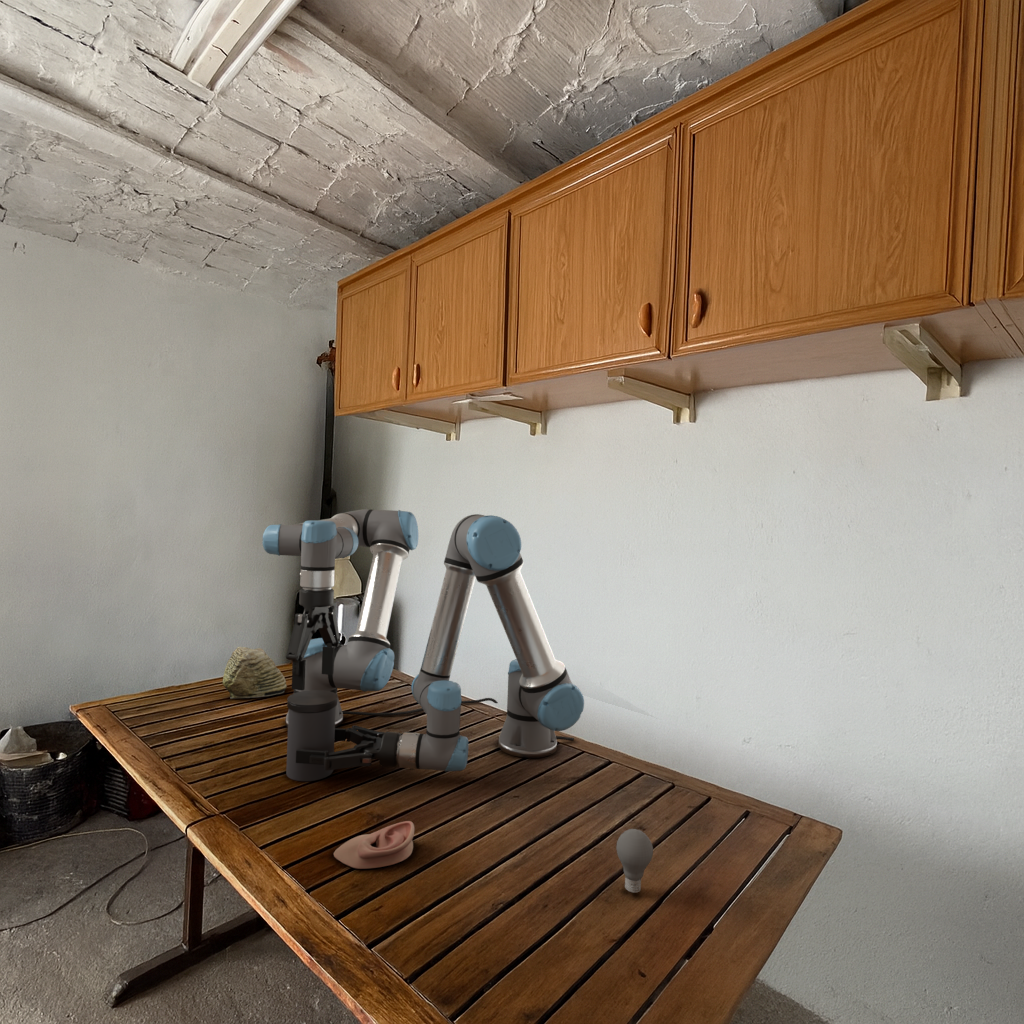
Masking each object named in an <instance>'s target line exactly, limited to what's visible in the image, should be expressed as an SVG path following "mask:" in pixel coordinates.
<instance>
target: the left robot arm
mask: <svg viewBox="0 0 1024 1024" xmlns="http://www.w3.org/2000/svg"><path fill="white" fill-rule="evenodd" d="M418 544H419V526H418V521H417V518H416V516H415V514H414V513H413V512H411V511H408V510H407V511H406V510H400V509H398V510H392V509H391V510H390V509H371V508H363V509H356V510H351V511H345V512H340V513H337V514H334V515H333V516H332V517H331V518H324V519H318V520H316V519H315V520H313V519H311V520H305V521H304V522H299V523H294V524H282V523H279V524H269V525H268V526H266V528H265V529H264V531H263V534H262V547H263V550H264V552H265V553H267V554H269V555H275V556H279V557H280V556H289V557H290V556H291V557H292V556H293V557H300V573H299V577H300V578H299V579H300V581H299V586H300V587H301V589H300V590H299V598H298V599H299V600H298V604H299V605H300V606H301V607H303V613H295V615H294V624H293V628H292V631H291V636H290V640H289V643H288V647H287V651H286V655H285V658H286V660H288V661H291V662H292V665H291V666H292V667H291V690H293V694H294V693H297V692H301V691H308V690H325V691H330V692H334V693H336V694H337V696H338V697H339V695H338V689H342V690H343V689H345V690H351V691H353V690H354V691H355V690H356V691H362V692H379V691H381V690H383V689H384V688H385V686H386V685H387V684H388V683H389V681H390V678H391V677H392V673H393V671H394V666H395V652H394V650H393V649H391V643H390V641H389V639H387V636H388V631H389V626H390V621H391V616H392V611H393V606H394V602H395V598H396V597H395V596H396V593H397V586H398V583H399V578H400V572H401V568H402V563H403V561H404V560H406V559H408V557H409V554H410V551H414V550H416V549H417V547H418ZM358 547H363V548H369V551H370V553H371V554H372V560H371V563H370V569H369V573H368V578H367V582H366V586H365V591H364V593H363V599H362V603H361V608H360V613H359V615H358V620H357V625H356V629H355V632H354V633H353V634H351V635H350V636H348V640H347V643H346V644H341V636H340V631H339V625H338V621H337V616H336V605H334V603H335V602H334V600H335V599H334V597H335V590H334V589H333V587H335V576H336V575H335V573H336V571H335V569H336V560H339V559H346V558H348V557H350V556H352V555H353V554H354V553H355V552H356V551H357V549H358ZM317 630H318V632H319V634H320V636H321V637H318V638H313V635H314V634H316V632H317ZM312 638H313V639H312ZM488 701H490V702H493V703H494V704H499V703H498V701H497V700H496V699H494V698H492V697H484V698H480V699H473V700H472V699H471V701H470V700H462V701H461V705H463V704H477V703H483V702H488ZM420 712H425V711H424V710H423V709H422V707H420V708H415V709H410V710H404V711H397V712H396V711H395V712H366V711H365V712H364V711H352V710H351V711H349V710H343V709H342V706H341V702H340V699H339V698H338V701H337V705H336V712H335V728H337V727H339V726H340V725H342V723H343V722H344V715H354V716H367V717H368V716H369V717H370V716H371V717H390V716H393V717H394V716H402V715H403V716H404V715H410V714H415V713H420ZM288 713H289V709H288V711H287V713H286V715H285V726H286V728H288Z"/></svg>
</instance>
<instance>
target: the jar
mask: <svg viewBox="0 0 1024 1024" xmlns="http://www.w3.org/2000/svg"><path fill="white" fill-rule="evenodd" d="M288 710H289V713H288V712H287V713H288V727H287V740H286V741H287V743H286V768H285V770H286V771H285V773H286V774H285V775H286V777H288V778H289V779H290V780H292V781H295V782H296V781H297V782H314V781H318V780H322V779H325V778H327V777H329V776H331V774H332V773H333V772H334V770H325V766H324V765H319V764H303V763H296V750H297V749H300V750H315V751H326V750H327V751H328V752H329V753H332V752H335V741H334V738H335V728H336V727H335V712H336V706H335V707H334V708H332V709H329V710H326V711H321V712H312V713H304V712H296V711H292V710H290V709H289V708H288Z"/></svg>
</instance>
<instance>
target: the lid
mask: <svg viewBox="0 0 1024 1024" xmlns="http://www.w3.org/2000/svg"><path fill="white" fill-rule="evenodd" d="M337 695H338V693H337V694H336V693H334V692H330V691H325V690H308V691H301V692H297V693H294V692H293V693H292V694H290V695H289V696H287V699H286V701H287V702H286V707H287V708H288V710H289V709H290V710H292V711H296V712H304V713H312V712H321V711H326V710H329V709H332V708H334V707H335V706H336V705H337V701H338V699H339V695H338V696H337Z"/></svg>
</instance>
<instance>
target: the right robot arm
mask: <svg viewBox="0 0 1024 1024" xmlns="http://www.w3.org/2000/svg"><path fill="white" fill-rule="evenodd" d="M451 532H452V533H451V535H450V537H449V542H448V545H447V549H446V553H445V556H444V560H443V565H444V567H445V568H446V570H445V574H444V577H443V581H442V585H441V589H440V592H439V596H438V601H437V603H436V608H435V612H434V616H433V619H432V623H431V628H430V631H429V634H428V635H429V636H428V638H427V643H426V646H425V651H424V655H423V658H422V662H421V665H420V669H419V673H418V674H417V675H416V676H415V677H414V678H413V680H412V682H411V687H410V688H411V693H412V697H413V698H414V700H415V701H416V703H417V704H418V705H419V706H420V708H422V709H423V710H424V711H423V712H424V713H425V715H426V732H425V733H418V732H406V731H405V732H403V733H401V732H398V731H376V730H375V729H374V730H373V729H370V728H367V727H363V726H359V725H356V724H355V725H354V724H353V725H352V726H351V727H348V728H339V727H338V728H337V727H335V738H334V742H335V741H336V742H347V743H349V742H351V743H353V744H355V745H354V746H353V747H349V748H346V749H341V750H337V751H334V752H332V753H329V752H328V751H327V750H326V751H315V750H300V749H297V750H296V763H303V764H319V765H324V766H325V770H333V771H334V770H342V769H348V768H357V767H371V766H373V765H372V764H373V763H372V762H373V760H378V761H379V764H380V766H381V768H382V767H383V768H397V767H399V769H400V768H401V769H409V770H410V771H413V770H414V769H416V770H429V771H440V772H441V771H442V772H462V771H464V770H465V769H466V768H467V765H468V759H469V742H470V741H469V738H468V737H467V736H466V735H465V736H464V735H462V734H461V732H460V730H461V729H460V726H461V711H462V710H461V708H462V704H461V701H463V699H462V688H461V685H460V684H459V683H458V682H455V681H453V680H450V678H451V674H452V670H453V666H454V662H455V658H456V654H457V650H458V646H459V642H460V639H461V635H462V631H463V627H464V624H465V621H466V618H467V617H466V616H467V612H468V608H469V606H470V605H469V604H470V601H471V598H472V593H473V590H474V586H475V582H476V581H477V583H480V584H482V585H485V586H486V589H487V591H488V593H489V596H490V598H491V600H492V602H493V606H494V608H495V610H496V613H497V615H498V617H499V620H500V623H501V625H502V627H503V630H504V632H505V634H506V637H507V639H508V642H509V644H510V647H511V649H512V652H513V654H514V657H515V659H513V660H511V661H510V663H509V664H508V665H509V666H508V672H507V698H506V699H507V703H506V717H505V721H504V723H503V725H502V728H501V730H500V734H499V737H498V748H499V749H500V751H502V752H504V753H505V754H507V755H511V756H513V757H517V758H526V759H539V758H544V757H548V756H551V755H553V754H554V753H556V751H557V749H558V740H561V741H562V740H563V741H570V742H574V741H575V738H574V737H571V736H570V737H569V736H563V735H556V732H563V731H565V730H569V729H570V728H572V727H573V726H574V725H575V724H576V723H577V722H578V721H579V720H580V718H581V715H582V713H583V712H584V708H585V698H584V694H583V693H582V691H581V690H580V688H579V687H578V685H575V684H574V683H573V682H572V680H571V678H570V675H569V673H568V670H567V669H566V665H565V663H564V662H563V661H560V660H559V659H556V657H555V655H554V651H553V650H552V647H551V645H550V643H549V639H548V637H547V635H546V632H545V630H544V626H543V625H542V622H541V620H540V617H539V614H538V612H537V610H536V608H535V607H536V606H535V605H534V602H533V599H532V597H531V595H530V591H529V590H528V587H527V585H526V582H525V580H524V577H523V575H522V571H521V570H522V568H523V566H524V563H525V562H524V559H523V557H522V554H521V550H522V538H521V535H520V533H519V531H518V529H517V528H516V526H514V524H513V523H511V522H510V521H509V520H507V519H505V518H503V517H501V516H498V515H485V514H480V513H479V514H478V513H475V514H474V513H473V514H470V515H467V516H464V517H463V518H462V519H460V520H459V521H458V522H457V523H456V525H455V526H454V528H453V529H452V531H451Z"/></svg>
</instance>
